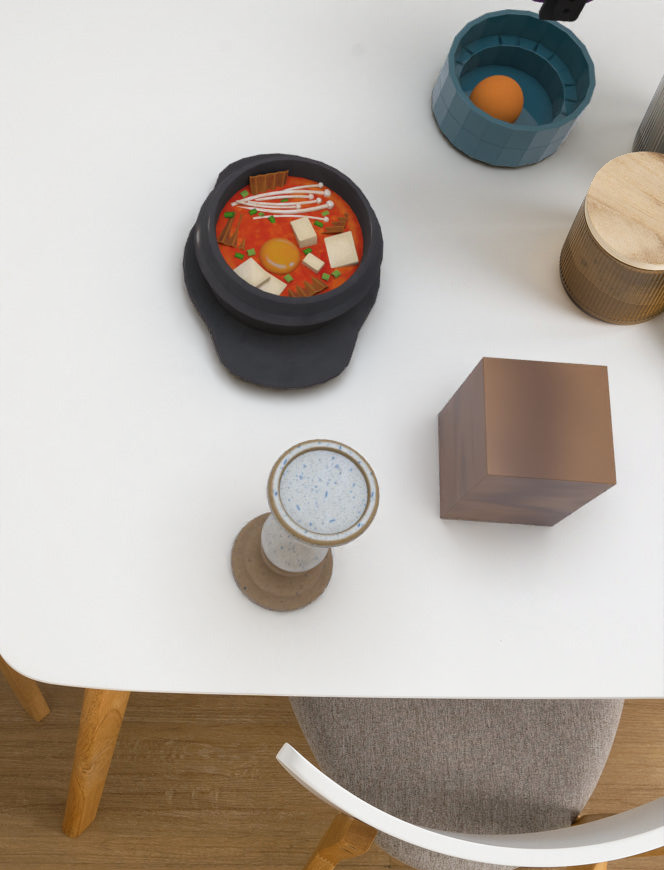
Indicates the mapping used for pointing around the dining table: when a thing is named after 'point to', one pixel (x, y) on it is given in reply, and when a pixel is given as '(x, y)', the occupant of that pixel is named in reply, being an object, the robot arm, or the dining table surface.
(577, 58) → the bowl
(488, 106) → the toy orange
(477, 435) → the cube
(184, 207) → the dining table surface
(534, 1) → the toy eggplant
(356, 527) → the candle holder
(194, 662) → the dining table surface
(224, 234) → the casserole
